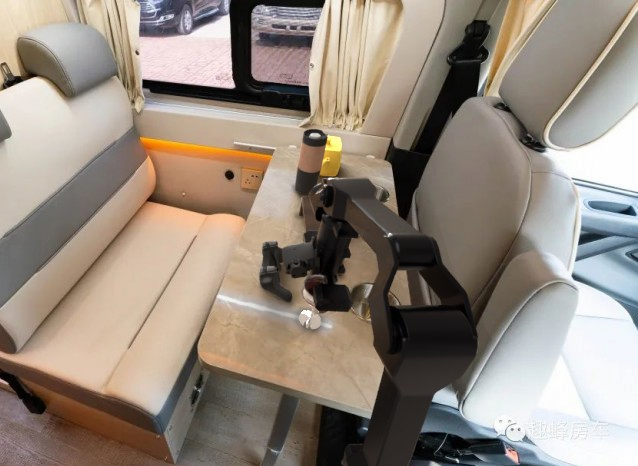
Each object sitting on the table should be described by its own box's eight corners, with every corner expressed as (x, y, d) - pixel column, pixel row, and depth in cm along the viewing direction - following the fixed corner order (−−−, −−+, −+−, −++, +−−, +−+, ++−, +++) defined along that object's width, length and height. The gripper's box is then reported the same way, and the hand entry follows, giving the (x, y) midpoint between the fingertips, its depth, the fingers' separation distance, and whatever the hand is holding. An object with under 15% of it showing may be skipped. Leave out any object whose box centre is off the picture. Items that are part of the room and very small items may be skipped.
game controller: (271, 260, 92) (256, 235, 86) (294, 255, 89) (280, 229, 84) (267, 309, 80) (250, 283, 75) (294, 304, 77) (278, 277, 72)
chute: (341, 276, 84) (348, 257, 79) (310, 275, 84) (315, 256, 80) (324, 214, 103) (328, 196, 98) (298, 214, 103) (301, 196, 99)
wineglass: (320, 337, 71) (332, 304, 63) (290, 325, 74) (298, 291, 66) (328, 314, 76) (341, 280, 68) (300, 303, 78) (309, 269, 70)
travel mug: (292, 192, 112) (301, 137, 99) (295, 180, 117) (304, 127, 104) (315, 196, 110) (327, 141, 97) (317, 184, 116) (329, 130, 102)
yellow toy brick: (339, 184, 116) (347, 154, 108) (303, 180, 118) (309, 150, 110) (337, 157, 130) (344, 128, 122) (305, 153, 132) (311, 125, 124)
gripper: (283, 207, 66) (275, 260, 76) (293, 279, 52) (282, 332, 62) (339, 208, 65) (324, 262, 76) (364, 281, 51) (341, 334, 62)
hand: (316, 294), depth 69 cm, fingers open, 9 cm apart
